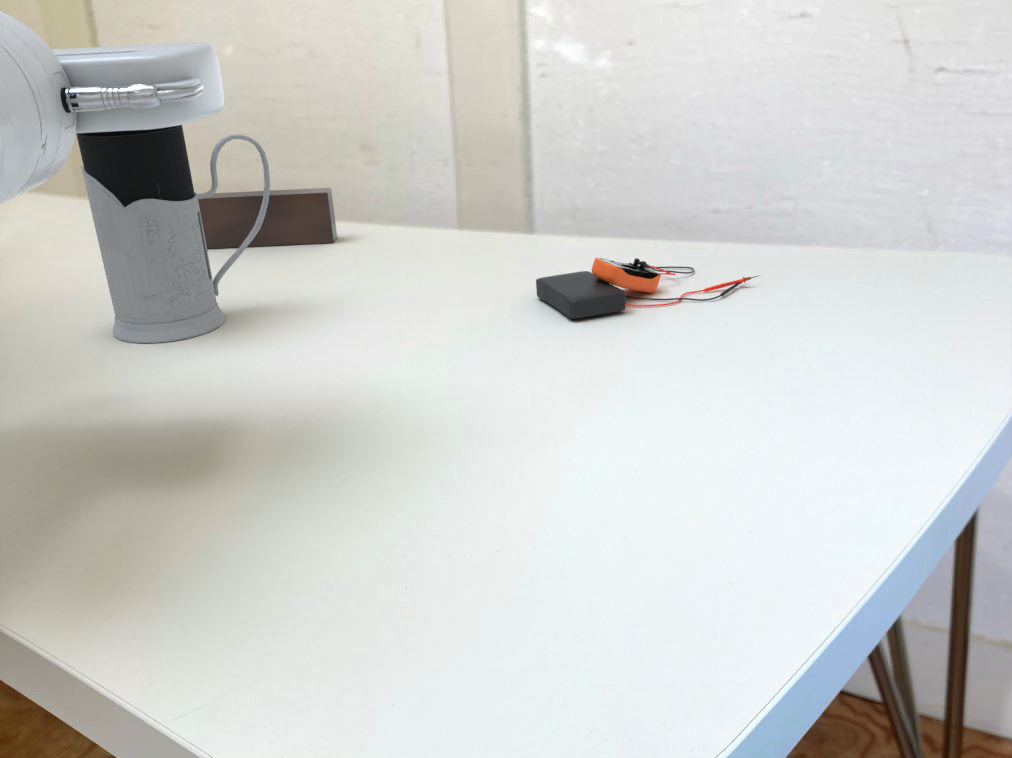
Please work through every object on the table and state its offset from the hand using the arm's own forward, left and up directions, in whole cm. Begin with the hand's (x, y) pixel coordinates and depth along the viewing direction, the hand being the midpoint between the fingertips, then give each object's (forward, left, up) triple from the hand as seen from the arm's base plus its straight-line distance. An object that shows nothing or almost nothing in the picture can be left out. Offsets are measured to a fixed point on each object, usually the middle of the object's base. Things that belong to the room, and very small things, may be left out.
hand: (77, 75), depth 64 cm
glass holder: (0, +15, -20) cm, 25 cm away
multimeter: (+36, +18, -20) cm, 45 cm away
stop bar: (0, +40, -20) cm, 45 cm away
